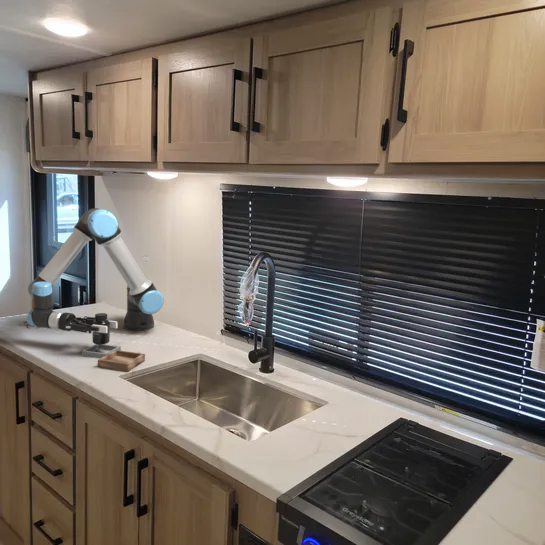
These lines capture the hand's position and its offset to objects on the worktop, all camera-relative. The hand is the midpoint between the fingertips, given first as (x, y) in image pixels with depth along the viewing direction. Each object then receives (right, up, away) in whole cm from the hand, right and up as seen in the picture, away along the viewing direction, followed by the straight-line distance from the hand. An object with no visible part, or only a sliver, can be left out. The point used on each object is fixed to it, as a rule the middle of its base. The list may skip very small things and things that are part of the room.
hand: (111, 327), depth 202 cm
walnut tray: (+6, -14, -8) cm, 17 cm away
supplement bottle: (-5, -7, +2) cm, 9 cm away
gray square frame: (-5, -11, +3) cm, 13 cm away
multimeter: (-53, -3, +37) cm, 64 cm away
